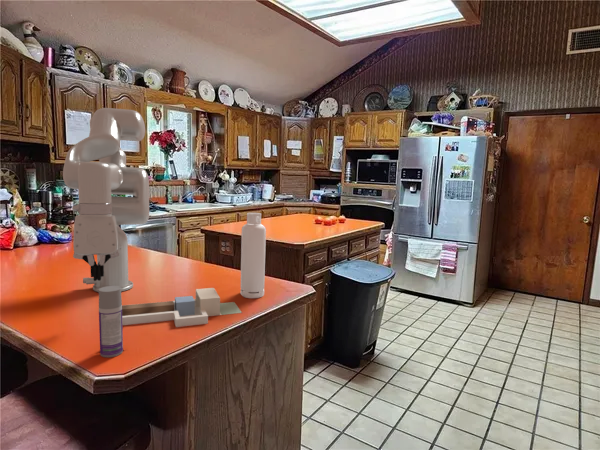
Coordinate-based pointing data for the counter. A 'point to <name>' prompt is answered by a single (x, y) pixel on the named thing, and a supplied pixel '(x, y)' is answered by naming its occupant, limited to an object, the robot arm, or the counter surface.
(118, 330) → the container
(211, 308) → the lane
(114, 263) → the robot arm
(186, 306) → the block
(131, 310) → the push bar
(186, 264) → the counter surface
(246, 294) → the bottle
